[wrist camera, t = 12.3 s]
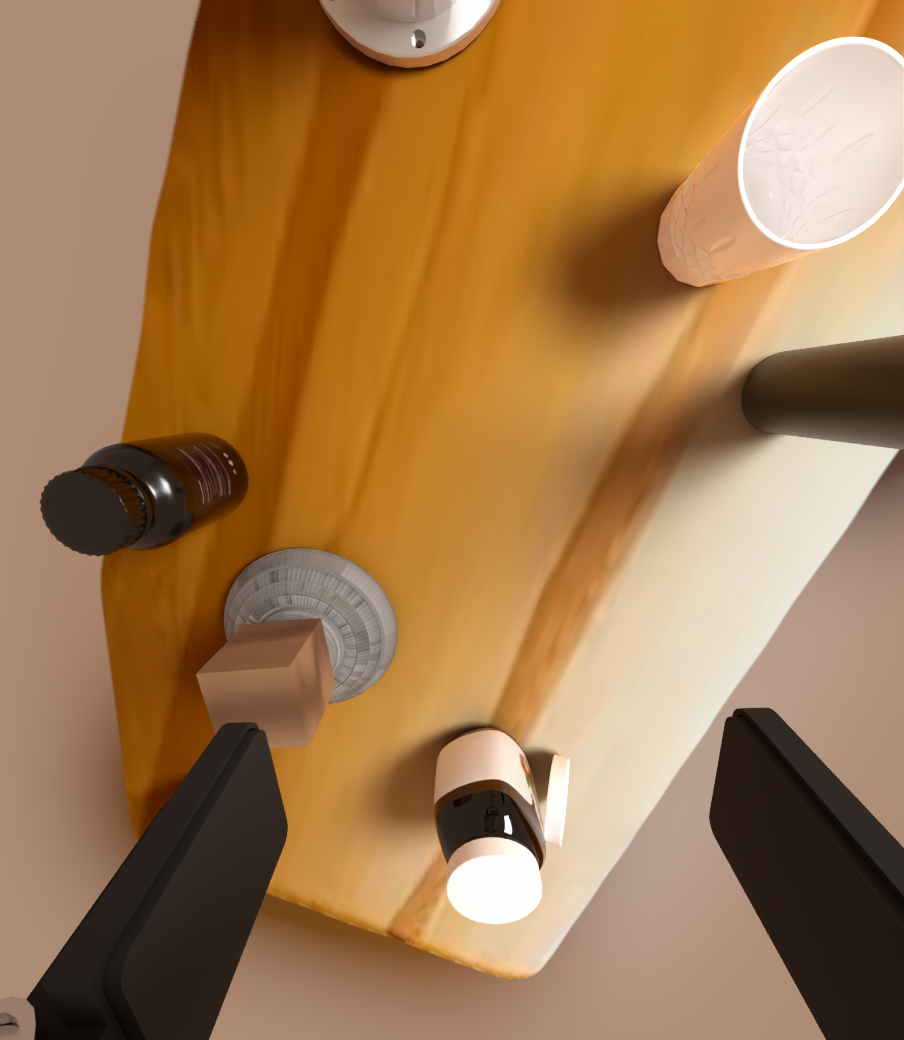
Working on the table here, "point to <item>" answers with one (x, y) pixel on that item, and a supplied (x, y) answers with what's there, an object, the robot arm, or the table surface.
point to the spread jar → (495, 824)
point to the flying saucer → (321, 611)
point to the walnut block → (271, 680)
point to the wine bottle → (832, 393)
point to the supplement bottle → (144, 493)
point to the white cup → (793, 167)
